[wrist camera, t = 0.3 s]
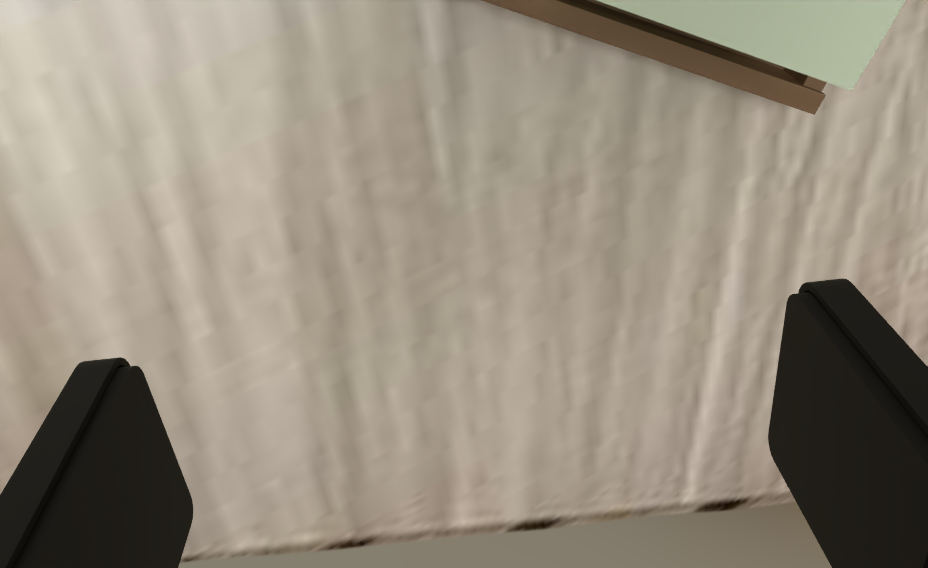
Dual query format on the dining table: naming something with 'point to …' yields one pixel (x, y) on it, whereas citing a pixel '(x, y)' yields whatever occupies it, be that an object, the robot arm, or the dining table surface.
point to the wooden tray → (676, 49)
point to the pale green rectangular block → (784, 30)
